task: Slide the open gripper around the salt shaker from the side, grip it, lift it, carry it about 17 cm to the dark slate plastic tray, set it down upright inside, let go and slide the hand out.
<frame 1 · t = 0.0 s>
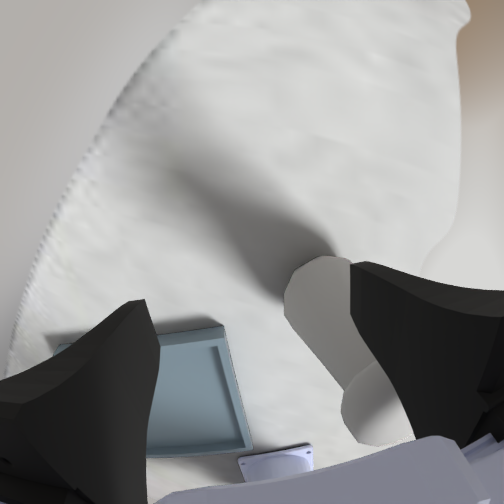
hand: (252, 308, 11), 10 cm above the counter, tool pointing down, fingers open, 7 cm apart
tray: (160, 401, 25), on the counter
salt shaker: (316, 282, 22), on the counter
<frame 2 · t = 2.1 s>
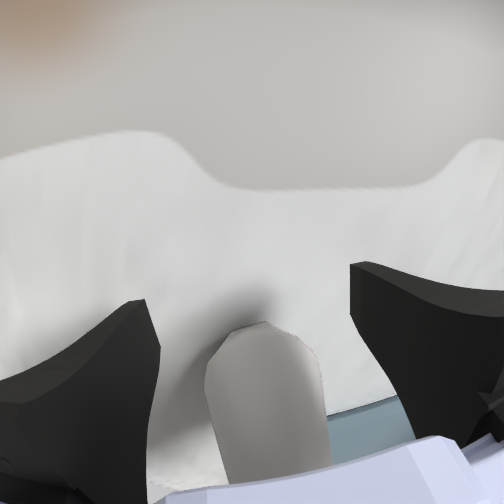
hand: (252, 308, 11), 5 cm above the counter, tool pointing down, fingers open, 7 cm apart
tray: (379, 446, 22), on the counter
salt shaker: (257, 351, 17), on the counter
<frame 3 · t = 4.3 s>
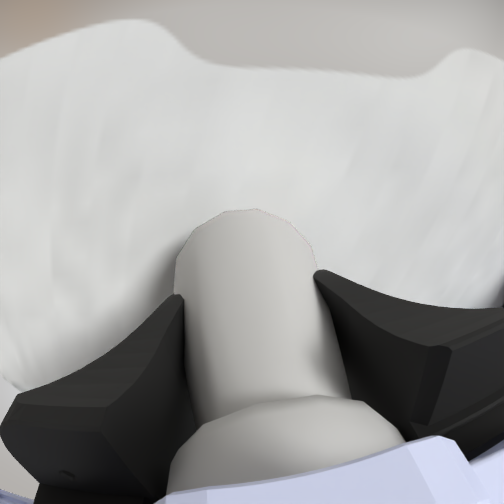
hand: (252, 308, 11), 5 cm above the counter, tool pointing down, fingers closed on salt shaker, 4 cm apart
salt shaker: (241, 257, 15), on the counter, touching gripper
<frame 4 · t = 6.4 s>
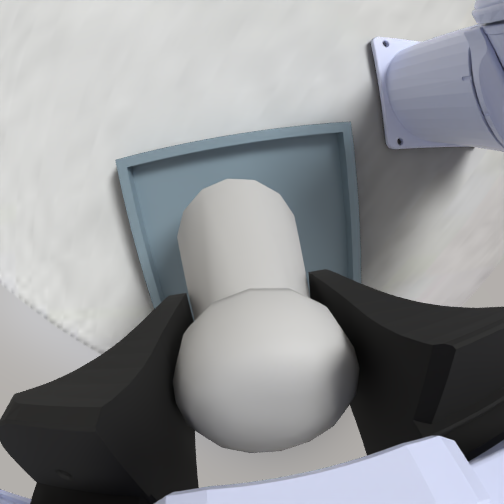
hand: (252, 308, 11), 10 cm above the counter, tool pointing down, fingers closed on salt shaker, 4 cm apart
tray: (250, 242, 21), on the counter
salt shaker: (234, 220, 18), point 2 cm above the counter, touching gripper
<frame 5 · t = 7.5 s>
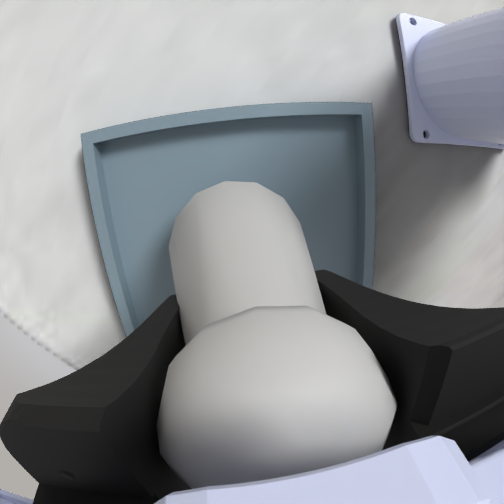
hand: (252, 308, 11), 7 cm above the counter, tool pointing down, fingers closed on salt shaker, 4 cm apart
tray: (240, 244, 17), on the counter
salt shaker: (232, 229, 16), resting on tray, touching gripper
when the fingers open (7 cm above the counter, at t = 8.3 s): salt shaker stays where it is, resting on tray.
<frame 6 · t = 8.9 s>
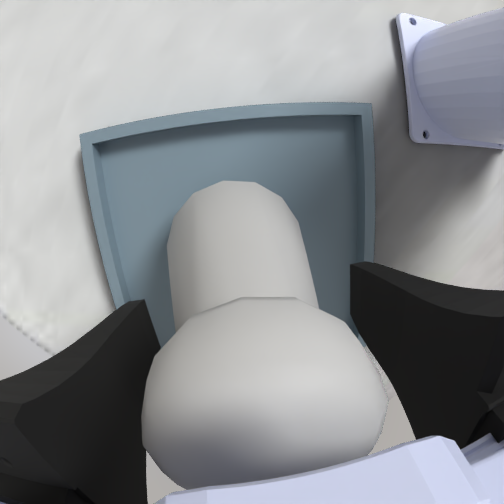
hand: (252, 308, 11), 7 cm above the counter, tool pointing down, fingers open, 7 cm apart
tray: (239, 245, 17), on the counter
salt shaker: (232, 230, 16), resting on tray
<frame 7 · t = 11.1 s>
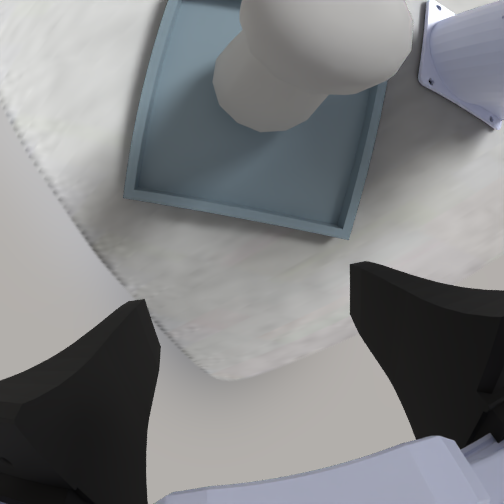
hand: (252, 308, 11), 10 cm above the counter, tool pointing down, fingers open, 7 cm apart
tray: (263, 103, 18), on the counter
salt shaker: (262, 86, 17), resting on tray
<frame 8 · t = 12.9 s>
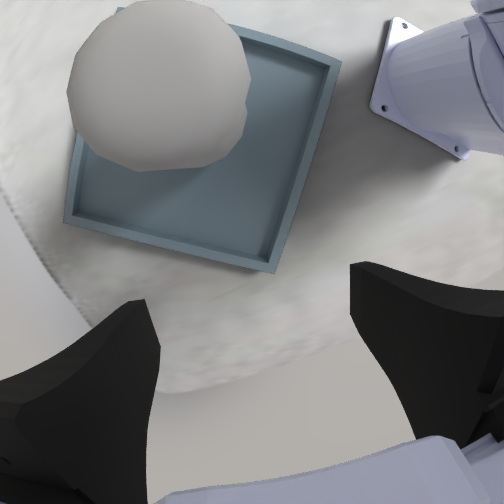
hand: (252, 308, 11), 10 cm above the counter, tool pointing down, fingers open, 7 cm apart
tray: (194, 133, 18), on the counter
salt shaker: (194, 117, 18), resting on tray
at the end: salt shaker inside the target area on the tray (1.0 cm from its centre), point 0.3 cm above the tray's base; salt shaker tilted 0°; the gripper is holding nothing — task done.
